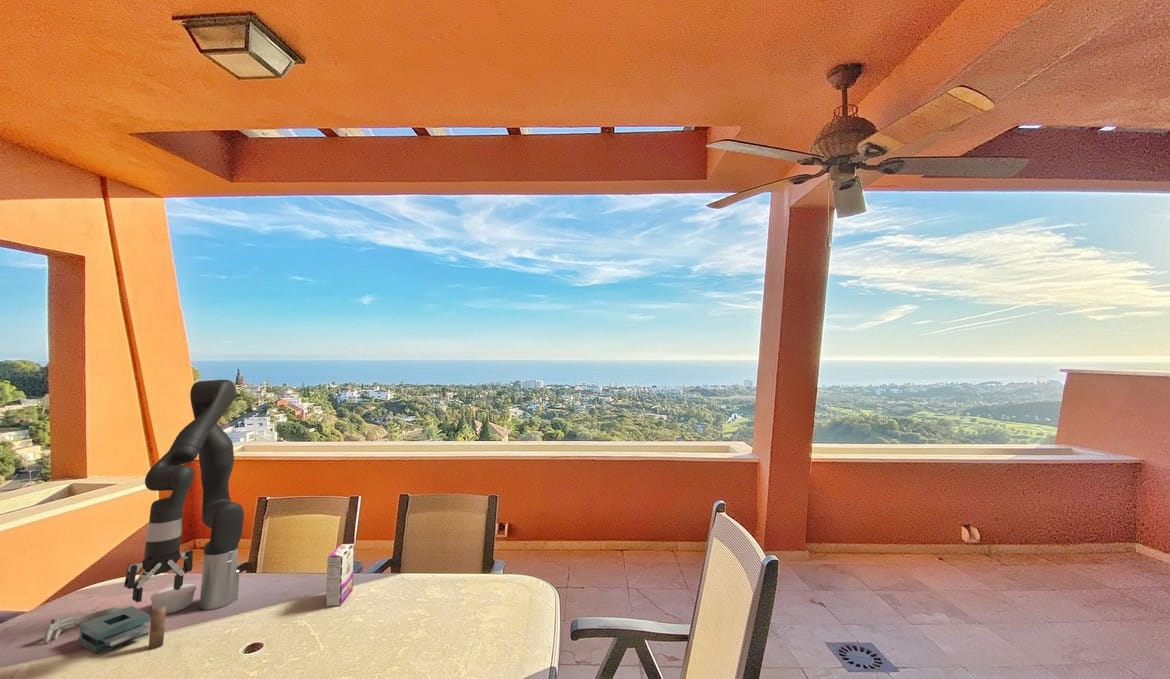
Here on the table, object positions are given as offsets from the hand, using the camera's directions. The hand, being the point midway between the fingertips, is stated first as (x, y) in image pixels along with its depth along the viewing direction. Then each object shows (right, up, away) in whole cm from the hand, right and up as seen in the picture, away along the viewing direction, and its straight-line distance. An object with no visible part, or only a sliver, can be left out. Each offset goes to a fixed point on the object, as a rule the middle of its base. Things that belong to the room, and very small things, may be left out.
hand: (157, 595), depth 128 cm
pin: (0, -14, -1) cm, 14 cm away
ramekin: (-15, -16, +21) cm, 30 cm away
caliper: (-32, -15, +10) cm, 37 cm away
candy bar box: (+37, -17, +27) cm, 49 cm away
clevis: (-13, -14, +2) cm, 20 cm away
